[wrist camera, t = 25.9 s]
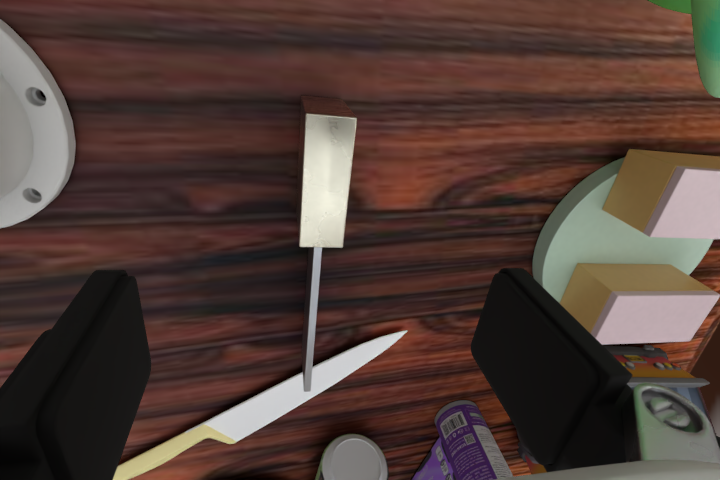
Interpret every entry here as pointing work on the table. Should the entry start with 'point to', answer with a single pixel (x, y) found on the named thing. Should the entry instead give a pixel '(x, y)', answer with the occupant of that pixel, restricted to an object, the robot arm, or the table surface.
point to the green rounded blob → (703, 37)
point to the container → (470, 443)
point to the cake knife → (321, 197)
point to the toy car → (644, 369)
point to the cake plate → (601, 237)
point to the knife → (260, 407)
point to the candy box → (435, 465)
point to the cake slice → (668, 194)
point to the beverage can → (352, 460)
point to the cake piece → (637, 302)
